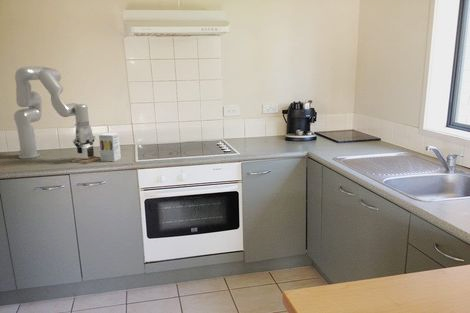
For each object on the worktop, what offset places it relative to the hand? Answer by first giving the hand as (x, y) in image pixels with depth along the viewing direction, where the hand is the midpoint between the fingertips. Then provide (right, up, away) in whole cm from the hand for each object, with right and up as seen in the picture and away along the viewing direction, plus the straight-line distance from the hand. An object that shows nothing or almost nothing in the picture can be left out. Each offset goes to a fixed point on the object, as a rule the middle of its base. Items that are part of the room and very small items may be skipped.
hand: (85, 151), depth 259 cm
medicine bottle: (0, -4, +1) cm, 4 cm away
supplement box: (+15, -5, +2) cm, 17 cm away
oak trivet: (0, -6, +1) cm, 6 cm away
